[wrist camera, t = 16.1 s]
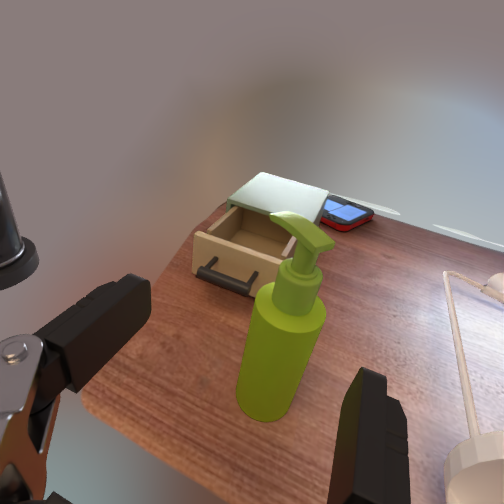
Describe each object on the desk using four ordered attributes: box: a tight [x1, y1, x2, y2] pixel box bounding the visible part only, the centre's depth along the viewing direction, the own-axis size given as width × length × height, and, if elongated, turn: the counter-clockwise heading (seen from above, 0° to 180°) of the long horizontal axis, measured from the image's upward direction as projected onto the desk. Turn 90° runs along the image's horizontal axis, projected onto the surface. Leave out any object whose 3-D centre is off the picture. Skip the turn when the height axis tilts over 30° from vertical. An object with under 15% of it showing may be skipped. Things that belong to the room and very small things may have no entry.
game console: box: [320, 195, 374, 231], centre depth 72 cm, size 14×13×2 cm
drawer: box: [192, 205, 298, 298], centre depth 46 cm, size 20×13×7 cm, turn 158°
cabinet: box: [226, 172, 329, 227], centre depth 58 cm, size 17×15×9 cm
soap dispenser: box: [236, 211, 335, 422], centre depth 27 cm, size 6×7×20 cm
